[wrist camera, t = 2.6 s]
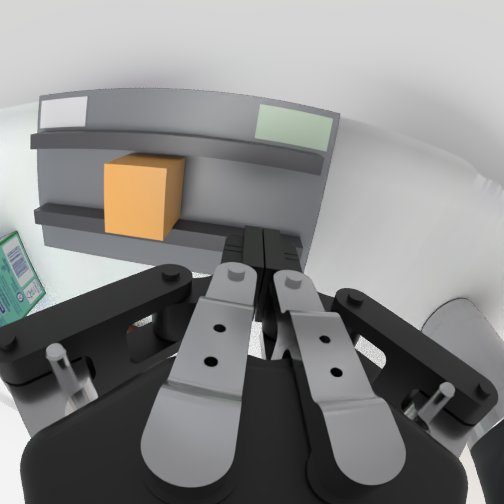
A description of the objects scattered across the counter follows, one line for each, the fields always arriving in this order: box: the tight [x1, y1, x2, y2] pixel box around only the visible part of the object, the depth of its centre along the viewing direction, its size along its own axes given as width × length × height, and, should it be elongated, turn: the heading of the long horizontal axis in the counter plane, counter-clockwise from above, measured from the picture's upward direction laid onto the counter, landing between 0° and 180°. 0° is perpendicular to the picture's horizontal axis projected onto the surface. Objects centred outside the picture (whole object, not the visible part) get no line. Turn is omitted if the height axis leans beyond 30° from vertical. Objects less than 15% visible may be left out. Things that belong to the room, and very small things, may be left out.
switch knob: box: [104, 153, 185, 241], centre depth 18 cm, size 4×4×4 cm
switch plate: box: [31, 88, 340, 275], centre depth 21 cm, size 24×14×6 cm, turn 81°
